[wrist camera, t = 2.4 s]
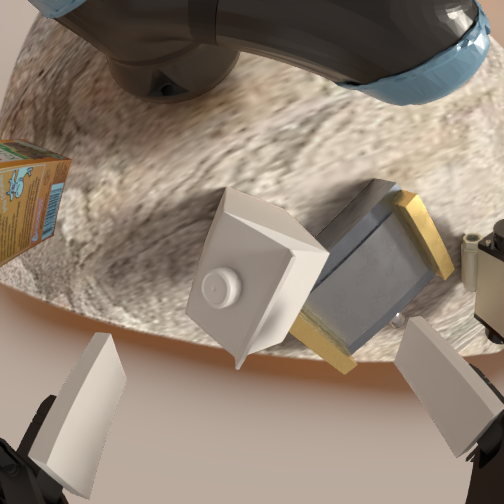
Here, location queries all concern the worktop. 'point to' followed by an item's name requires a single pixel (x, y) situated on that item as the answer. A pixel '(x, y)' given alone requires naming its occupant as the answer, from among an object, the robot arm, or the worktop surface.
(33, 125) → the worktop surface
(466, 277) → the ball valve
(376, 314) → the grey tray
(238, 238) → the milk carton
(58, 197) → the milk carton
